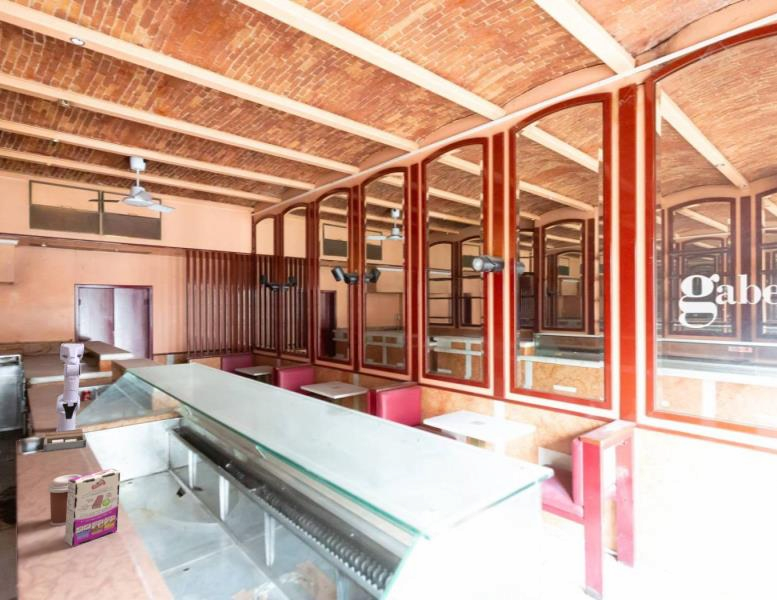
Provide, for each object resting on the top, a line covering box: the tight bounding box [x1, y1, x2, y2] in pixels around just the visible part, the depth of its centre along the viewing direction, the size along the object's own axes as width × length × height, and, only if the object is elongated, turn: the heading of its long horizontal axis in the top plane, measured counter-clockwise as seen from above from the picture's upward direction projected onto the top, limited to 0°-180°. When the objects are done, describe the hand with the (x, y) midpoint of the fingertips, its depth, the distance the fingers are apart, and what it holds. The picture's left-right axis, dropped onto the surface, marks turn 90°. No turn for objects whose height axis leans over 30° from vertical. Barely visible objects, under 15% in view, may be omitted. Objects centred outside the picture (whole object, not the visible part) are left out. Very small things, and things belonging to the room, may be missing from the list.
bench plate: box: [45, 428, 84, 444], centre depth 209 cm, size 14×14×2 cm
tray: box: [43, 433, 87, 453], centre depth 198 cm, size 12×15×3 cm
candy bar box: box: [64, 468, 121, 548], centre depth 119 cm, size 11×5×16 cm, turn 148°
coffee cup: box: [46, 473, 82, 527], centre depth 128 cm, size 9×9×12 cm
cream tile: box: [52, 439, 63, 443], centre depth 197 cm, size 4×4×2 cm
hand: (68, 418), depth 208 cm, fingers closed
